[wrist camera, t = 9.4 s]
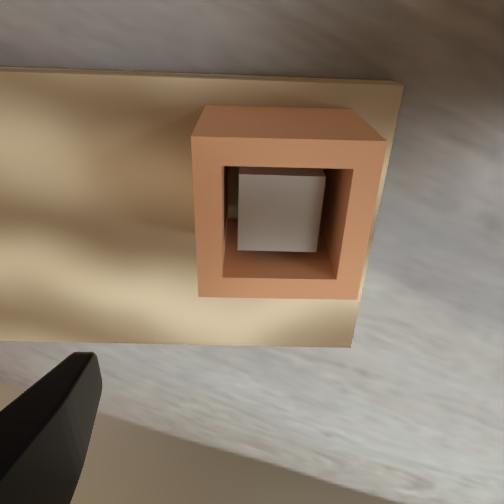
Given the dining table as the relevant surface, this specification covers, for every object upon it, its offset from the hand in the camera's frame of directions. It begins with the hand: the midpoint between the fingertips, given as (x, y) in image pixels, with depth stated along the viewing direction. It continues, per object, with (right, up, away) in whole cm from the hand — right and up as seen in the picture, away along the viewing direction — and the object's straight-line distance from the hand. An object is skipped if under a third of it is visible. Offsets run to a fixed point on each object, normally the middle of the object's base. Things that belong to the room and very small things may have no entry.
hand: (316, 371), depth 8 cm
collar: (0, +6, +10) cm, 12 cm away
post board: (-5, +4, +13) cm, 14 cm away
